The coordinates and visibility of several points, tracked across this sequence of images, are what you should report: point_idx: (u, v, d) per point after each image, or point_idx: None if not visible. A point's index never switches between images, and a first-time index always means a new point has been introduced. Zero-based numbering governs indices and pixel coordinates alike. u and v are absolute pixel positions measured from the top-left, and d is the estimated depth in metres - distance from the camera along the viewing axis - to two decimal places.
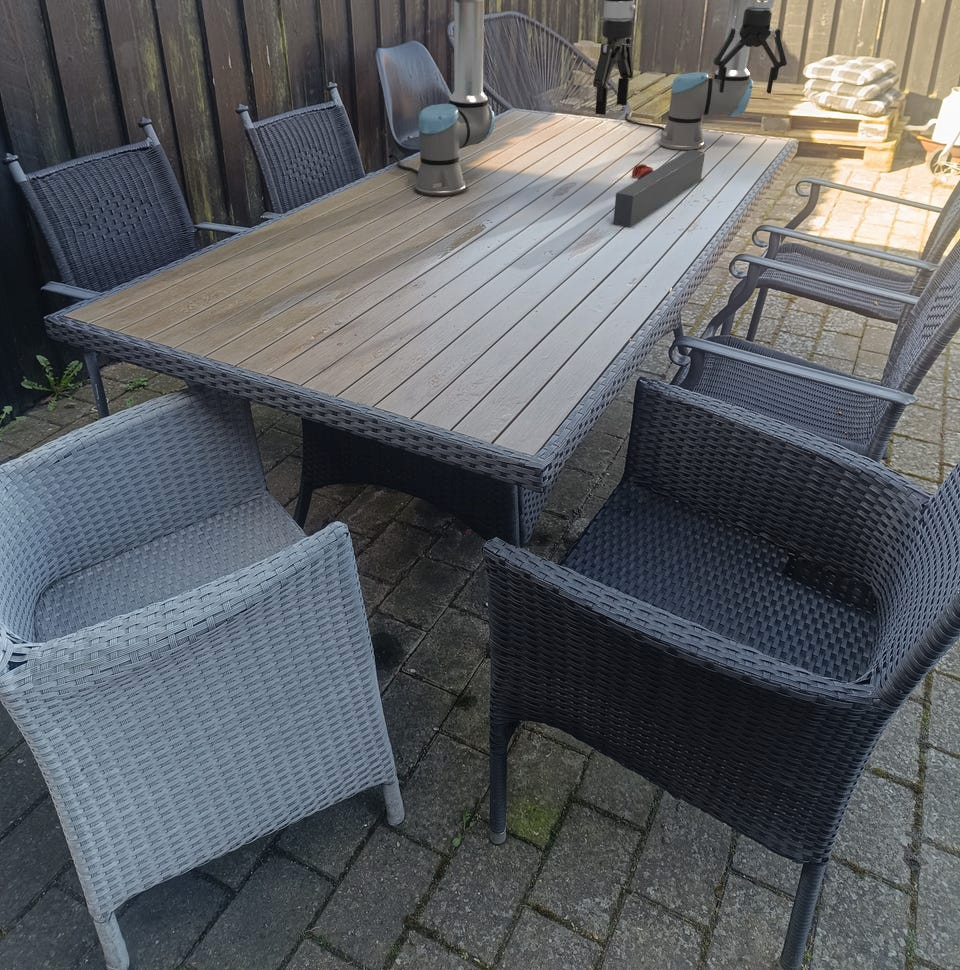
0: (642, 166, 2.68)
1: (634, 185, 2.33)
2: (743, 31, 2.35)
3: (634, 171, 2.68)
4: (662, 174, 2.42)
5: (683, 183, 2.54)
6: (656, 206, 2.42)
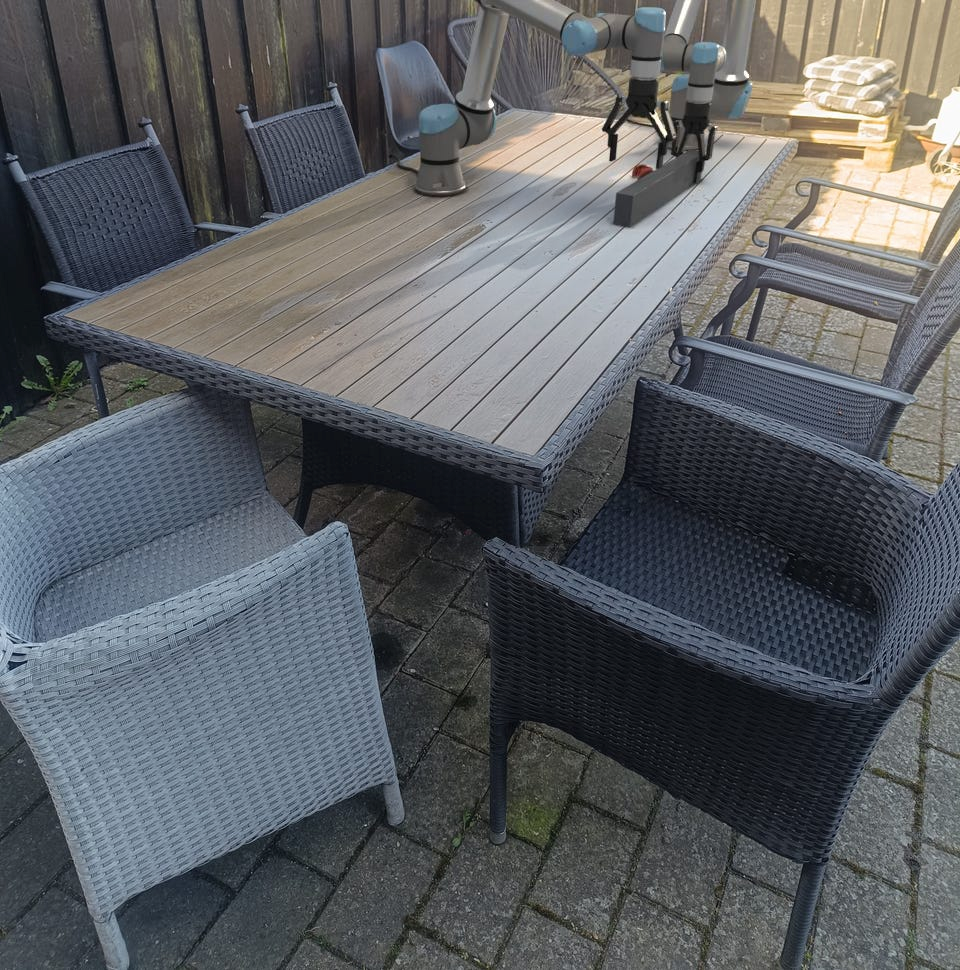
0: (642, 166, 2.68)
1: (634, 185, 2.33)
2: None
3: (634, 171, 2.68)
4: (662, 174, 2.42)
5: (683, 183, 2.54)
6: (656, 206, 2.42)
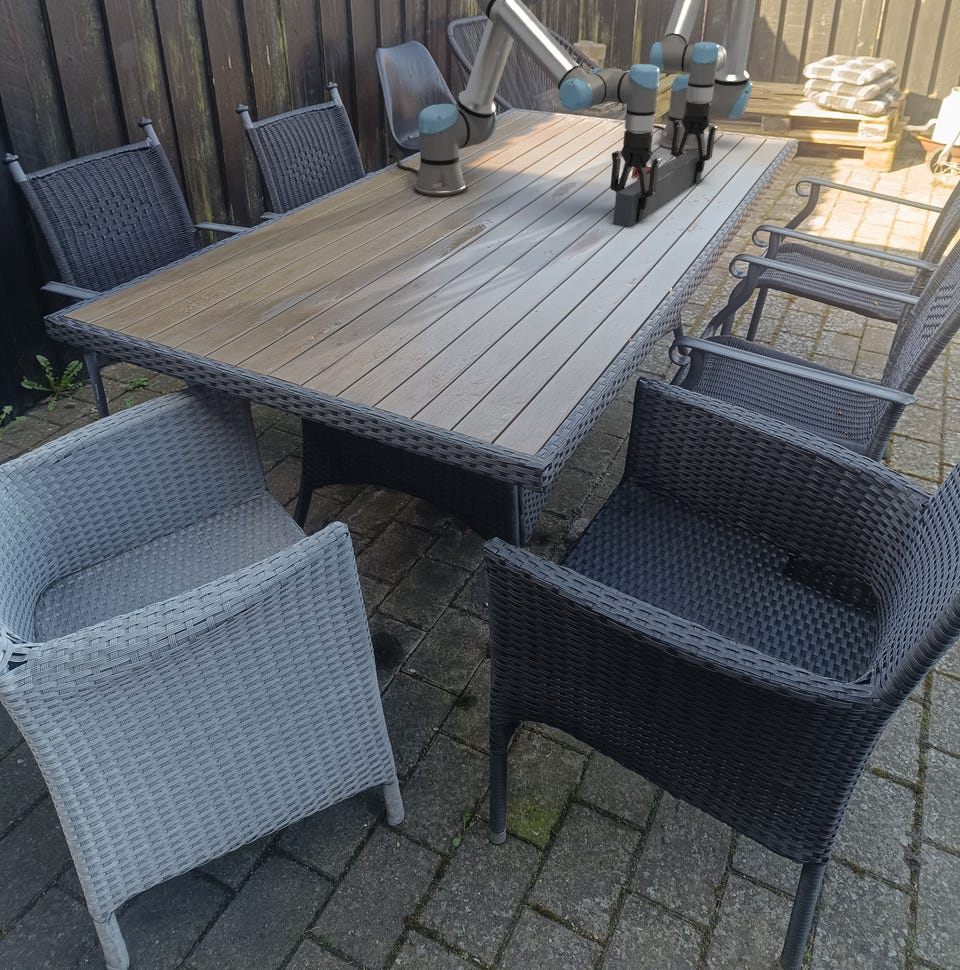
0: None
1: (634, 185, 2.33)
2: None
3: (634, 171, 2.68)
4: (662, 174, 2.42)
5: (683, 183, 2.54)
6: (656, 206, 2.42)
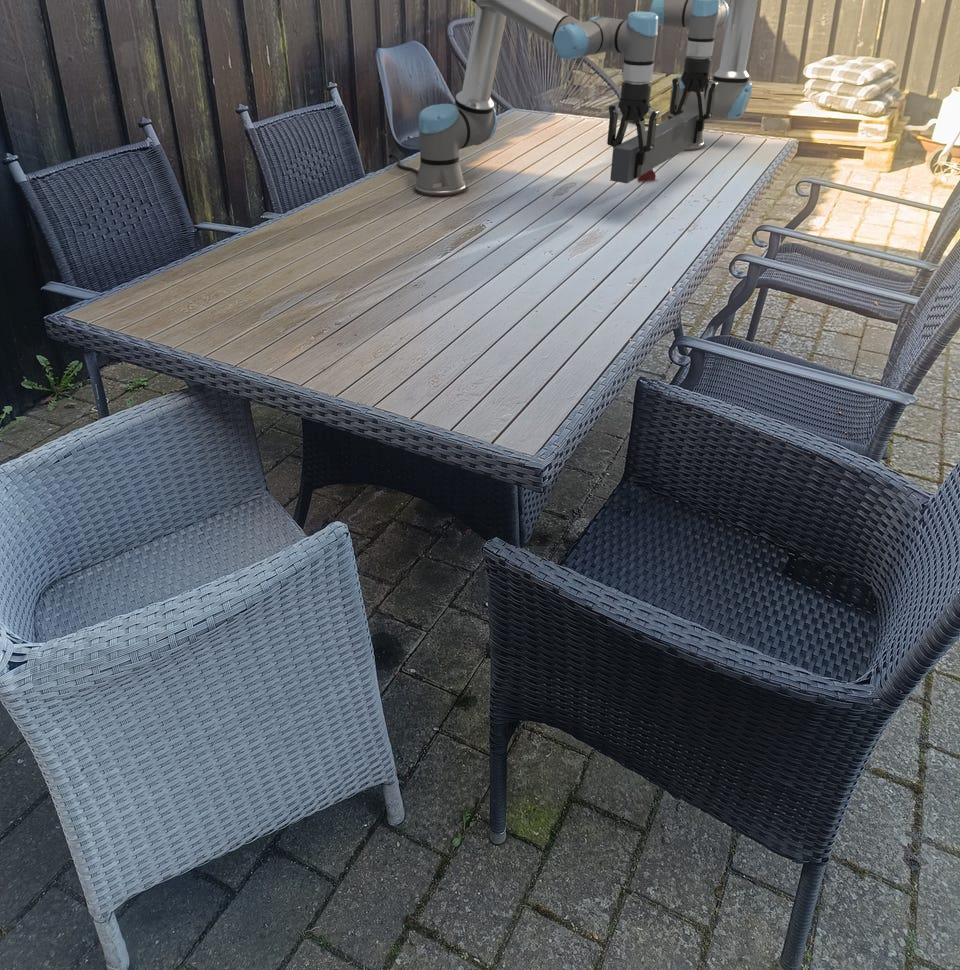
0: None
1: (632, 140, 2.26)
2: None
3: None
4: (661, 131, 2.35)
5: (682, 142, 2.48)
6: (654, 164, 2.35)
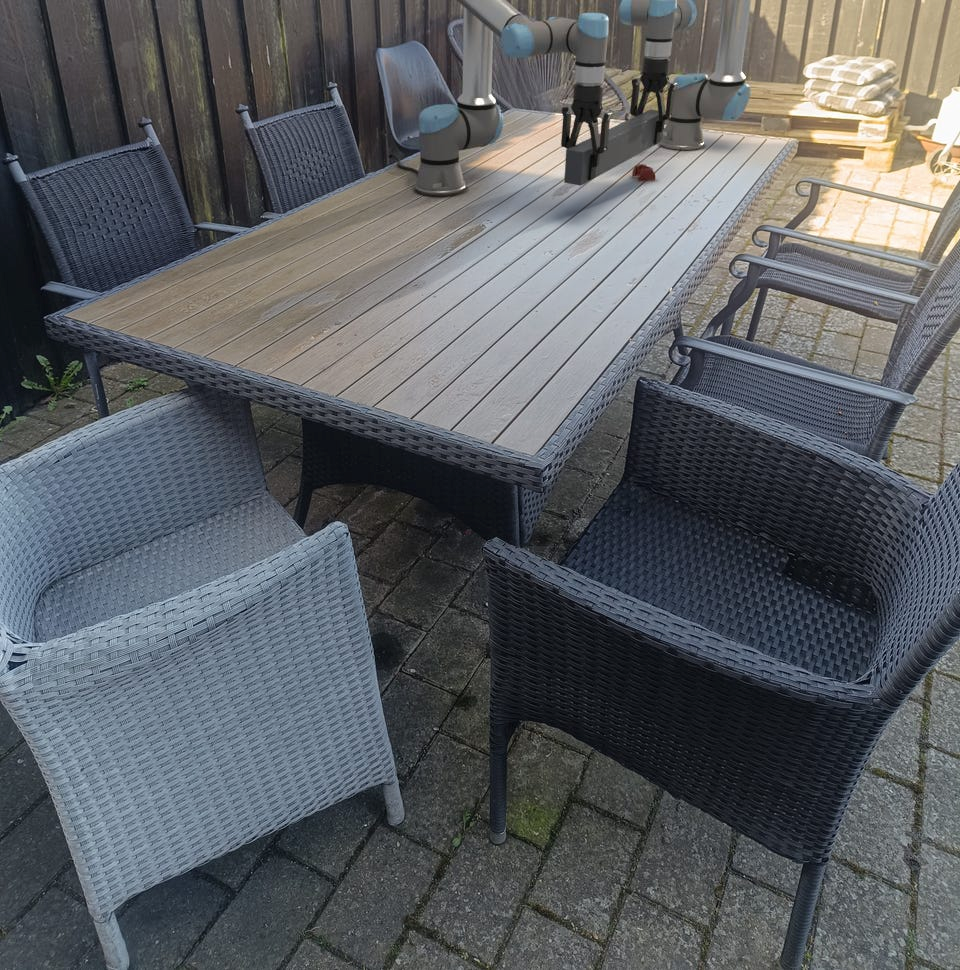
0: (642, 166, 2.68)
1: (587, 142, 2.25)
2: None
3: (634, 171, 2.68)
4: (617, 132, 2.34)
5: (641, 143, 2.46)
6: (610, 165, 2.34)
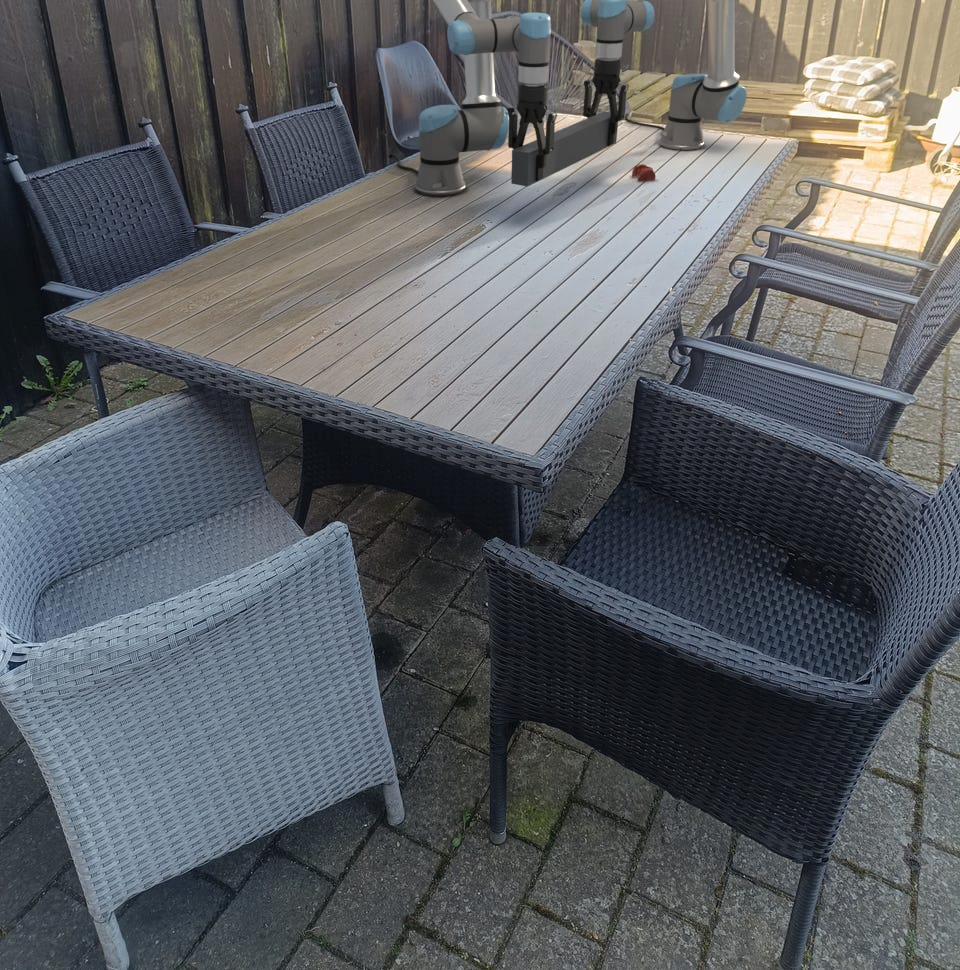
0: (642, 166, 2.68)
1: (534, 143, 2.24)
2: None
3: (634, 171, 2.68)
4: (566, 133, 2.32)
5: (593, 144, 2.45)
6: (559, 166, 2.32)
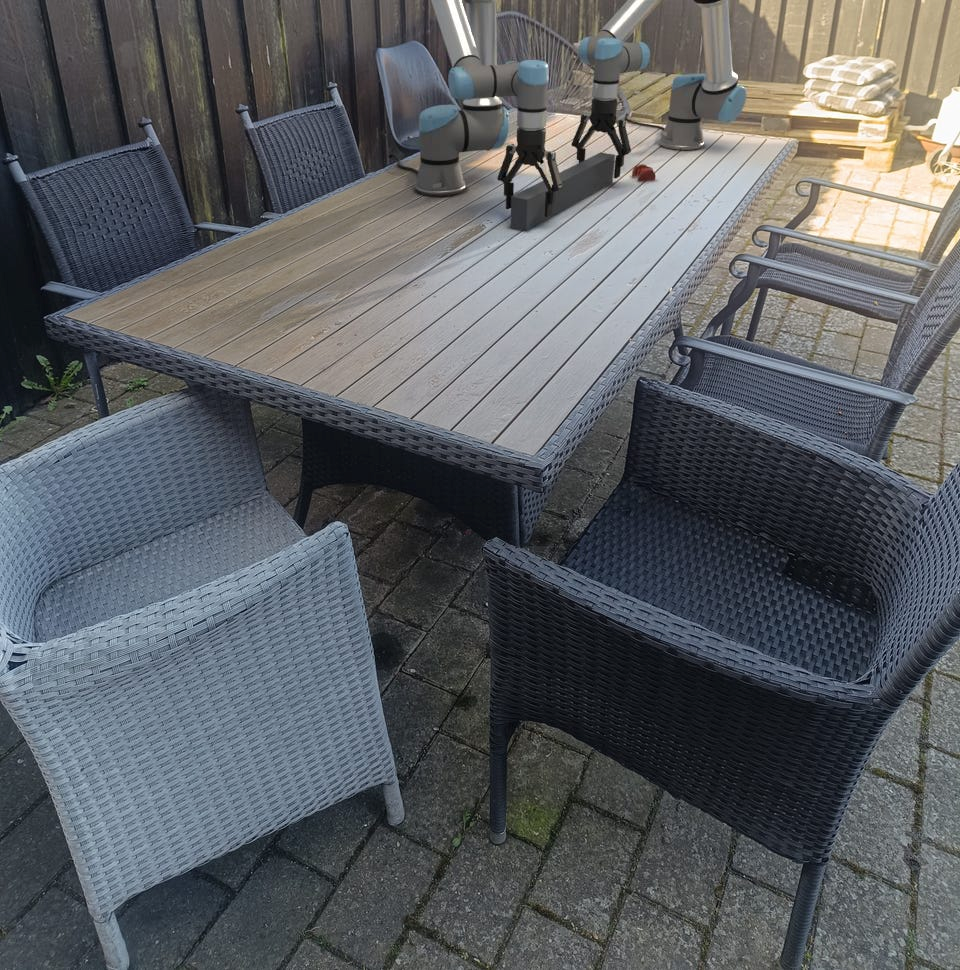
0: (642, 166, 2.68)
1: (532, 189, 2.30)
2: None
3: (634, 171, 2.68)
4: (564, 177, 2.39)
5: (590, 186, 2.52)
6: (557, 210, 2.39)
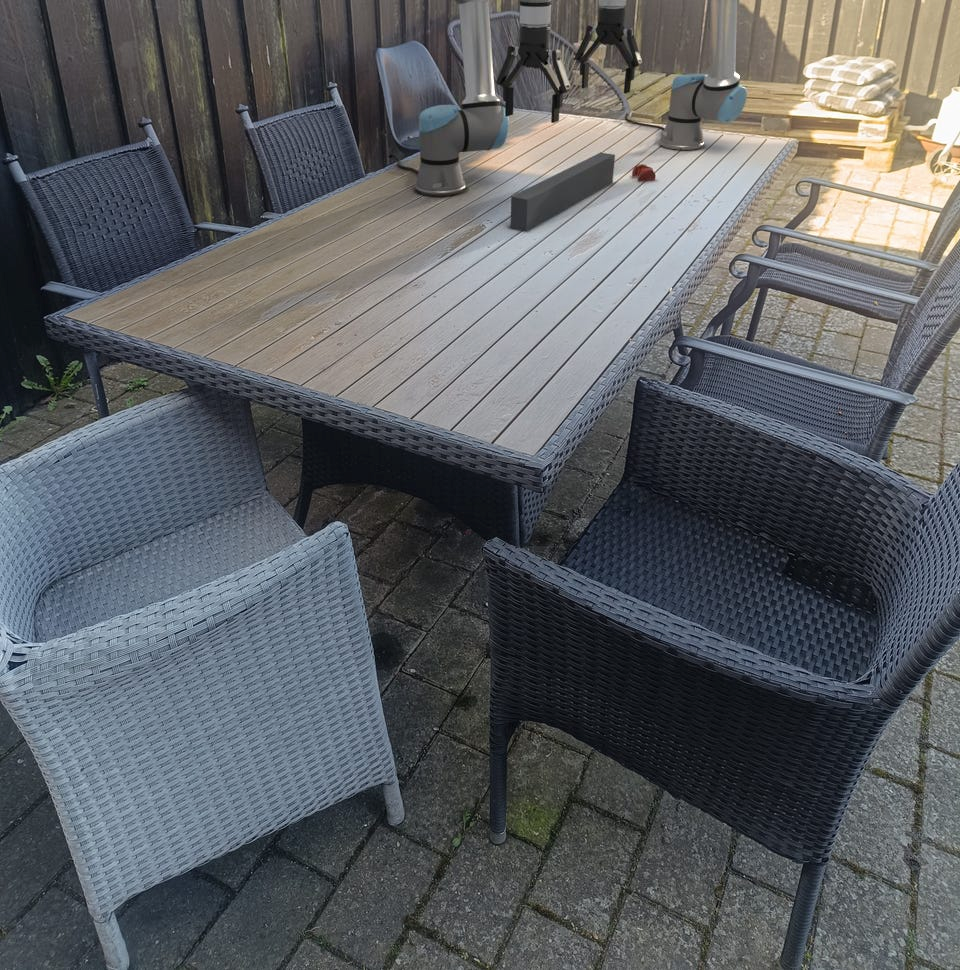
0: (642, 166, 2.68)
1: (532, 189, 2.30)
2: None
3: (634, 171, 2.68)
4: (564, 177, 2.39)
5: (590, 186, 2.52)
6: (557, 210, 2.39)
